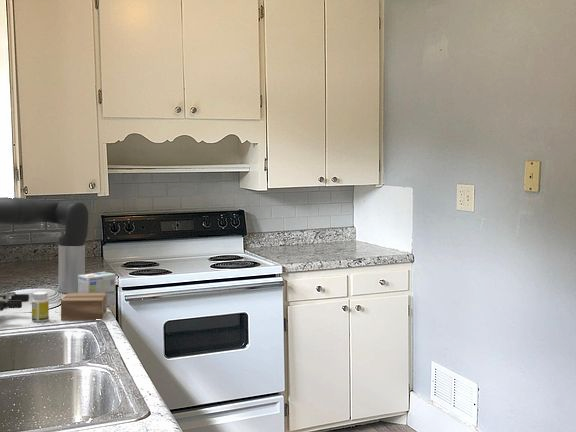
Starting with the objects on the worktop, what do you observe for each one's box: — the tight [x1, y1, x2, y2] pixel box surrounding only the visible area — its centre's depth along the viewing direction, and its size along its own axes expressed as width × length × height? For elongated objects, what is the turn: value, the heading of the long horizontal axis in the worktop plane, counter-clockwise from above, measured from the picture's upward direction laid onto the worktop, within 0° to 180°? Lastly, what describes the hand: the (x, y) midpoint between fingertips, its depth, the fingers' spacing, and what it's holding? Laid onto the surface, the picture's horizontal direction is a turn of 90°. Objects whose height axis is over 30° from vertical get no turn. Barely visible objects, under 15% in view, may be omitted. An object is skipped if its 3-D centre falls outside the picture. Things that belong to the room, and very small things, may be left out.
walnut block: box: [60, 293, 107, 321], centre depth 204 cm, size 12×12×6 cm
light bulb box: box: [78, 271, 116, 307], centre depth 218 cm, size 11×7×11 cm, turn 141°
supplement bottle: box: [31, 291, 50, 323], centre depth 196 cm, size 5×5×8 cm
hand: (25, 301), depth 196 cm, fingers open, 8 cm apart
